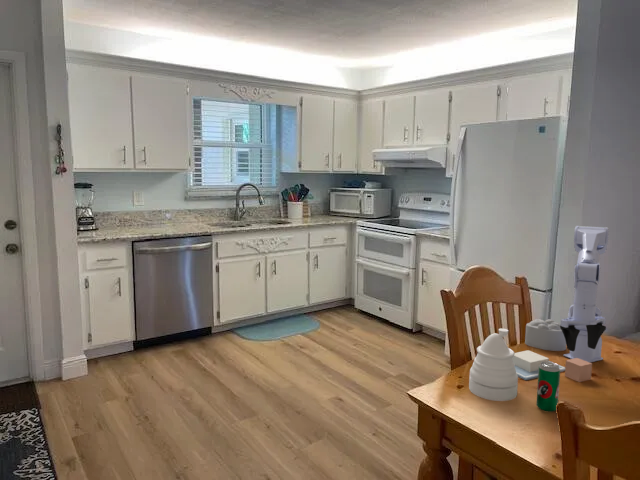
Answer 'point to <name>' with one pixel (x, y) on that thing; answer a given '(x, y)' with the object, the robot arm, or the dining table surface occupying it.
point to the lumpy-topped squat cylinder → (545, 335)
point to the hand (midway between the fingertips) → (581, 349)
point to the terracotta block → (578, 369)
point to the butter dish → (529, 364)
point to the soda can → (548, 386)
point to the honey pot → (494, 370)
